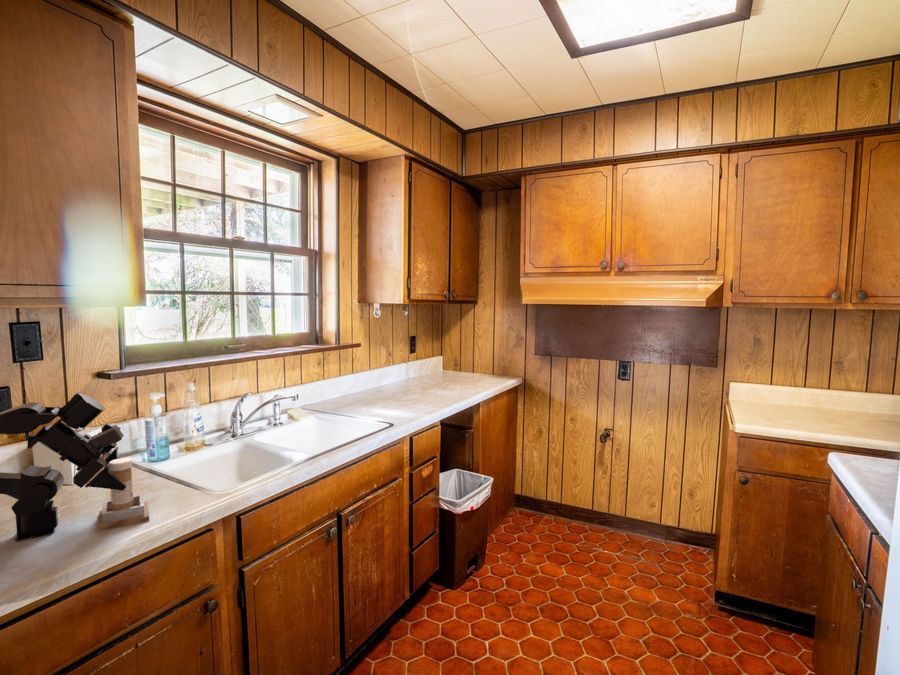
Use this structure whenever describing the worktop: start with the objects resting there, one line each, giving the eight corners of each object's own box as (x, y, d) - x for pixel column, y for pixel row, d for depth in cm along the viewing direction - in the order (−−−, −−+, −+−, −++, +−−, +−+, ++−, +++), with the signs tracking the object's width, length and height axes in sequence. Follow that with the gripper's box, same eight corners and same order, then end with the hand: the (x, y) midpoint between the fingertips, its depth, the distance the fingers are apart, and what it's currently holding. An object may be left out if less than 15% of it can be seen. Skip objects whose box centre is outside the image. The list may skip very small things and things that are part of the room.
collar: (102, 524, 110) (102, 514, 110) (103, 511, 117) (103, 501, 117) (144, 515, 115) (144, 505, 115) (143, 503, 121) (143, 494, 121)
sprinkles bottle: (118, 510, 118) (116, 457, 117) (138, 509, 118) (135, 456, 117) (107, 518, 113) (104, 463, 112) (127, 518, 113) (124, 463, 112)
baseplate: (97, 531, 109) (97, 527, 109) (99, 514, 117) (99, 510, 117) (149, 520, 115) (149, 516, 114) (147, 505, 123) (147, 501, 123)
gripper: (88, 426, 104) (150, 467, 110) (104, 408, 120) (157, 445, 126) (44, 466, 101) (110, 507, 107) (67, 442, 117) (123, 478, 123)
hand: (127, 481), depth 116 cm, fingers open, 9 cm apart
